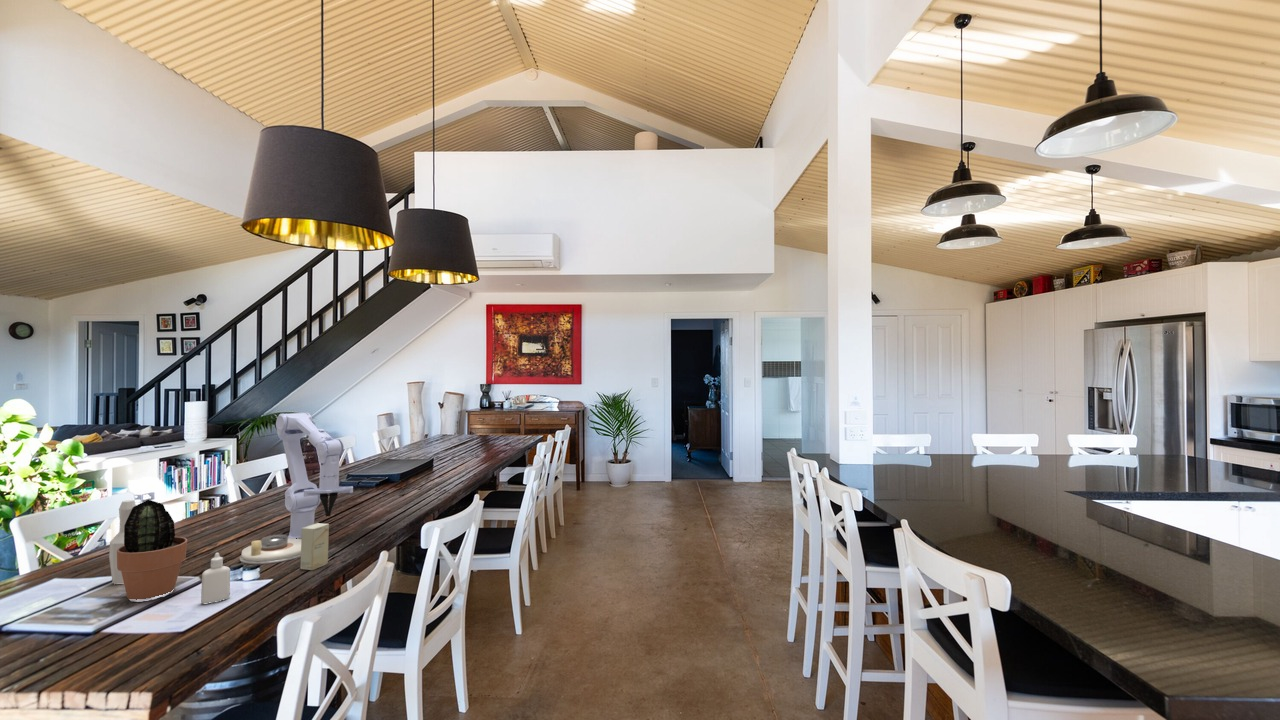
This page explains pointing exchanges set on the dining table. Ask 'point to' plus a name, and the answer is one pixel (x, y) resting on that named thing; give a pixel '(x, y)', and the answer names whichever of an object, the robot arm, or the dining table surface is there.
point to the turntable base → (268, 561)
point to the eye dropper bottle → (215, 581)
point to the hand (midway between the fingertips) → (328, 515)
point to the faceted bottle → (119, 540)
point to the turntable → (259, 555)
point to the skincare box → (314, 546)
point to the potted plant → (150, 552)
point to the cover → (274, 542)
